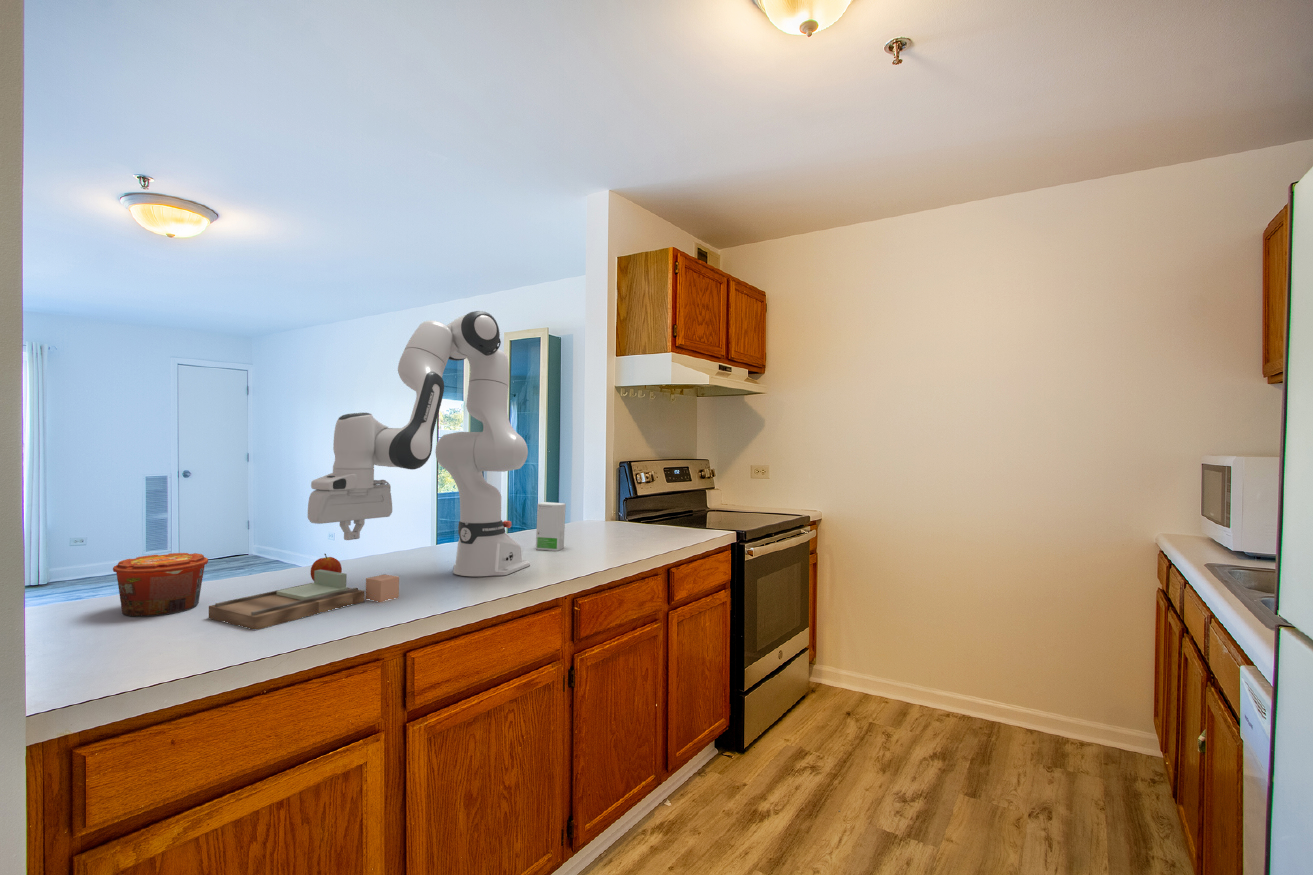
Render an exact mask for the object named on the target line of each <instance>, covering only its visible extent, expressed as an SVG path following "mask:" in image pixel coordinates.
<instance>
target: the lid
mask: <svg viewBox="0 0 1313 875" xmlns="http://www.w3.org/2000/svg"><path fill="white" fill-rule="evenodd" d="M347 574H348V573H344V572H342V573H339V572H333V571H327V570H316V571H314V581H313V582H312V583H313V584H310V583H307V584H308V585H305V584H302V585H303V586H300V585H298V586H299V587H295V586H293V587H294V588H291V587H288V588H289V589H286V588H284V589H285V590H281V589H279V590H280V591H277V590H276V591H277V594H276V595H280V596H284V597H289V598H294V599H299V600H305V599H309V598H313V597H317V596H322V595H326V594H330V593H335V592H339V591H343V590H347V589H348V588H349V587H347V576H348V575H347Z"/></svg>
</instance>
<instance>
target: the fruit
mask: <svg viewBox="0 0 1313 875" xmlns="http://www.w3.org/2000/svg"><path fill="white" fill-rule="evenodd" d="M324 556H325V557H320V558H318V559H316V560H315V561H314V562H313V564H312V565H311V568H310V578H311V580H312V581H313V582H314V571H316V570H327V571H333V572H339V573H343V571H342V565H341V564H342V563H341V562H340V561H339V560H338V559H337V558H335V557H333V556H327V554H326V553H324Z"/></svg>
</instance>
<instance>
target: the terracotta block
mask: <svg viewBox="0 0 1313 875" xmlns="http://www.w3.org/2000/svg"><path fill="white" fill-rule="evenodd" d="M398 597H399V598H400V576H397V575H390V574H379V575H376V576H370V577H367V578H365V600H366V599H370V600H374V601H373V602H375V601H378V602H377V603H380V602H381V603H384V602H383V601H385V600H388V599H392V600H395V599H394V598H396V599H399V598H398ZM385 602H386V601H385Z"/></svg>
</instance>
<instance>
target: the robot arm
mask: <svg viewBox="0 0 1313 875" xmlns="http://www.w3.org/2000/svg"><path fill="white" fill-rule="evenodd" d="M500 333H501V332H500V328H499V324H498V323H497V321H496V318H494V316H493V315H492V314H490V313H489V312H486V311H483V310H476V311H471V312H468V313H466V314H465V315H462V316H459V317H457V318H456V319H454V320H453V321H451V322H449V323H448V324H447V325H446V324H444V323H442V322H441V321H438V320H431V319H430V320H426V321H423V322H421V323H420V324H419V325H418V327H417V328H416V329H415V330H414V332H413V334H412V335H411V337H410V338H409V340H408V342H407V344H406V345H405V346H404V347H405V348H404V349H403V352H402V354H401V355H400V358H399V361H398V366H397V374H398V375H399V378H400V380H401V381H402V382H403V384H405V386H407V387H408V388H409V389H411V390H412V391H414V392H415V393H416V394H415V395H416V396H415V402H414V405H413V408H412V412H411V415H410V419H409V421H408V423H407V424H406V425H404V426H403V427H400V428H398V427H389V426H387V425H384V424H383V423H381V422H379V421H378V420H377V419H376V418H375V417H374V416H373V414H372V413H369V412H354V413H346V414H343V415H341V416H339V417H338V418H337V420H336V424H335V427H334V431H333V448H332V450H333V454H334V462H333V465H332V472H331V473H328V474H325V475H324V476H320V477H317V478H315V479H312V481H311V483H310V487H311V489H312V490H313V491H311V493H310V494H309V498H308V503H307V519H308V521H309V522H310V523H311V524H315V525H316V524H317V525H321V524H323V525H324V524H331V523H339V527H340V528H341V530H342V532H343V539H344V541H352V540H359V539H360V538H361V534H360V533H361V531H362V529H363V527H364V526H365V521H366V520H371V519H380V518H388V517H390V516H391V515H392V513H393V500H392V493H391V484H390V483H389V481H387V480H386V479H379V480H378V479H375V466H378V467H388V468H400V469H405V470H417V469H421V467H423V466H424V465H425V464H427V462H428V461H429V459H430V457H431V456H432V455H431V454H432V451H433V438H434V431H435V427H436V424H437V420H438V416H439V412H440V409H441V406H442V401H443V397H444V392H445V382H444V379H443V374H444V371H445V368H446V366H447V363H448V360H450V361H454V362H455V361H458V362H459V361H463V360H466V359H467V362H468V363H469V371H470V375H469V381H468V388H467V396H466V397H467V398H466V405H465V407H466V409H467V412H468V413H469V415H470V416H471V417H472V418H474V419H476V420H477V421H479V422H481V423H482V426H483V429H482V431H474V432H473V431H456V432H452V433H447V434H443V435H442V436H441V437H440V438H439V439H438V441H437V443H436V445H435V451H434V452H435V453H434V454H435V457H436V461H437V462H438V464H439V465H440V466H441V467H442V468H443V469H445V470H446V472H448V474H449V475H450V476H451V477H452V480H453V481H454V483H455V484H456V487H457V490H458V495H459V511H460V512H459V515H460V516H459V518H460V520H459V521H458V526H457V530H458V531H457V534H458V536H459V539H458V542H457V547H456V548H457V549H456V555H455V563H454V564H453V571H452V573H453V574H454V575H457V576H462V577H489V576H490V577H491V576H508V575H509V574H510V575H511V574H512V573H515V572H517V571H520V570H523V569H525V568H527V567H529V566H531V562H530V561H529V560H525V559H523V558H522V555H523V554H522V548H521V545H520V544H519V543H518V542H516V540H514V539H513V538H512V537H511V536H509V534H507V533H506V528H507V529H510V528H511V527H512V526H513V524H512V521H510V520H504V521H503V519H502V494H501V492H500V491H499V489H498V488H497V487H495V486H493V485H492V484H490V483H488V482H487V481H486V479H485V478H484V475H483V472H497V473H498V472H503V473H505V472H510V471H515V470H519V469H521V468H522V467H523V466H524V465H525V463H526V461H527V458H528V456H529V449H528V444H527V443H526V440H525V439H524V437H522V436H521V434H519V433H518V432H517V431H516V430H515V429H514V427H513V426H512V423H511V421H510V418H509V414H508V397H509V396H508V395H509V386H510V384H509V383H510V369H509V368H510V367H509V359H508V356H507V355H506V353H505V352H504V351H503V350H501V349H499V348H500V346H501V344H502V341H501V338H500V335H501V334H500ZM352 521H353V524H355V525H354V527H353V529H352V530H351V528H350V527H349V526H351V525H352Z"/></svg>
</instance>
